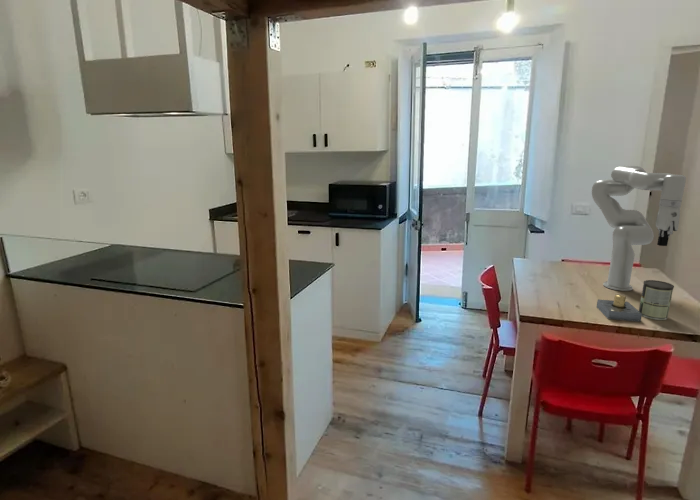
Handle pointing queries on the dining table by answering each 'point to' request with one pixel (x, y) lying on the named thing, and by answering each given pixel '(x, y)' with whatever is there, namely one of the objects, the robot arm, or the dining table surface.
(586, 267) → the dining table surface
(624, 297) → the gold rounded cylinder
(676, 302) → the dining table surface
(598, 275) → the dining table surface
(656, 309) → the coffee can
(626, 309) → the jig
